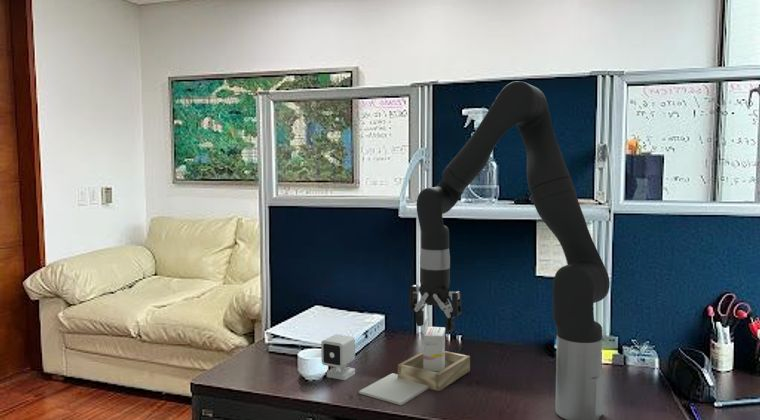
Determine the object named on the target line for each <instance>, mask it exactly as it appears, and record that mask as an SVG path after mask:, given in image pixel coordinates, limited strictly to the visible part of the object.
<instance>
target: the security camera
mask: <svg viewBox="0 0 760 420" xmlns="http://www.w3.org/2000/svg"><path fill="white" fill-rule="evenodd" d="M320 345H321V346H320V347H321V349H320V350H321V364H322V365H323V366H327V367H328V366H329V367H333V368H331V369H328V371H326V378H330V379H335V380H341V381H346V380H348V379H350V378H351V377H353V376H354V375H355V374H356V368H354V367H349V366H348V364H351V363H352V362H354V361H355V359H356V339H355V337H354V336H350V335H342V334H338V333H335V334H333V335H331V336H329V337H327V338H325V339H323V340H322V341H321V343H320Z"/></svg>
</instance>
